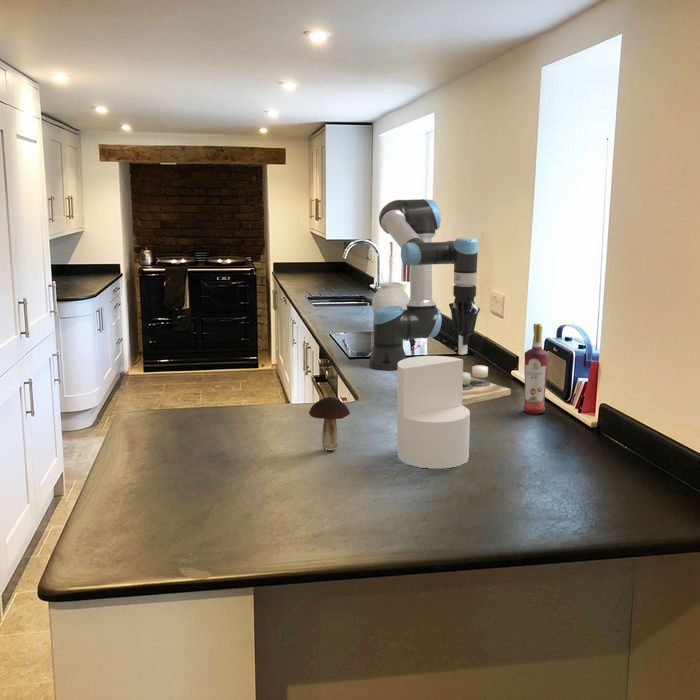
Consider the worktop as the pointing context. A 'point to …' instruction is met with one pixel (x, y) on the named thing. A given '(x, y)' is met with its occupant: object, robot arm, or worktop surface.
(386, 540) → the worktop surface
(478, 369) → the cream button
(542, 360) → the liquor
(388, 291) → the vase
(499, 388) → the button board
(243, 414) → the worktop surface
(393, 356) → the robot arm
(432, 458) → the cylinder
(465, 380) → the sage button
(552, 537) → the worktop surface
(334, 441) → the decorative mushroom
